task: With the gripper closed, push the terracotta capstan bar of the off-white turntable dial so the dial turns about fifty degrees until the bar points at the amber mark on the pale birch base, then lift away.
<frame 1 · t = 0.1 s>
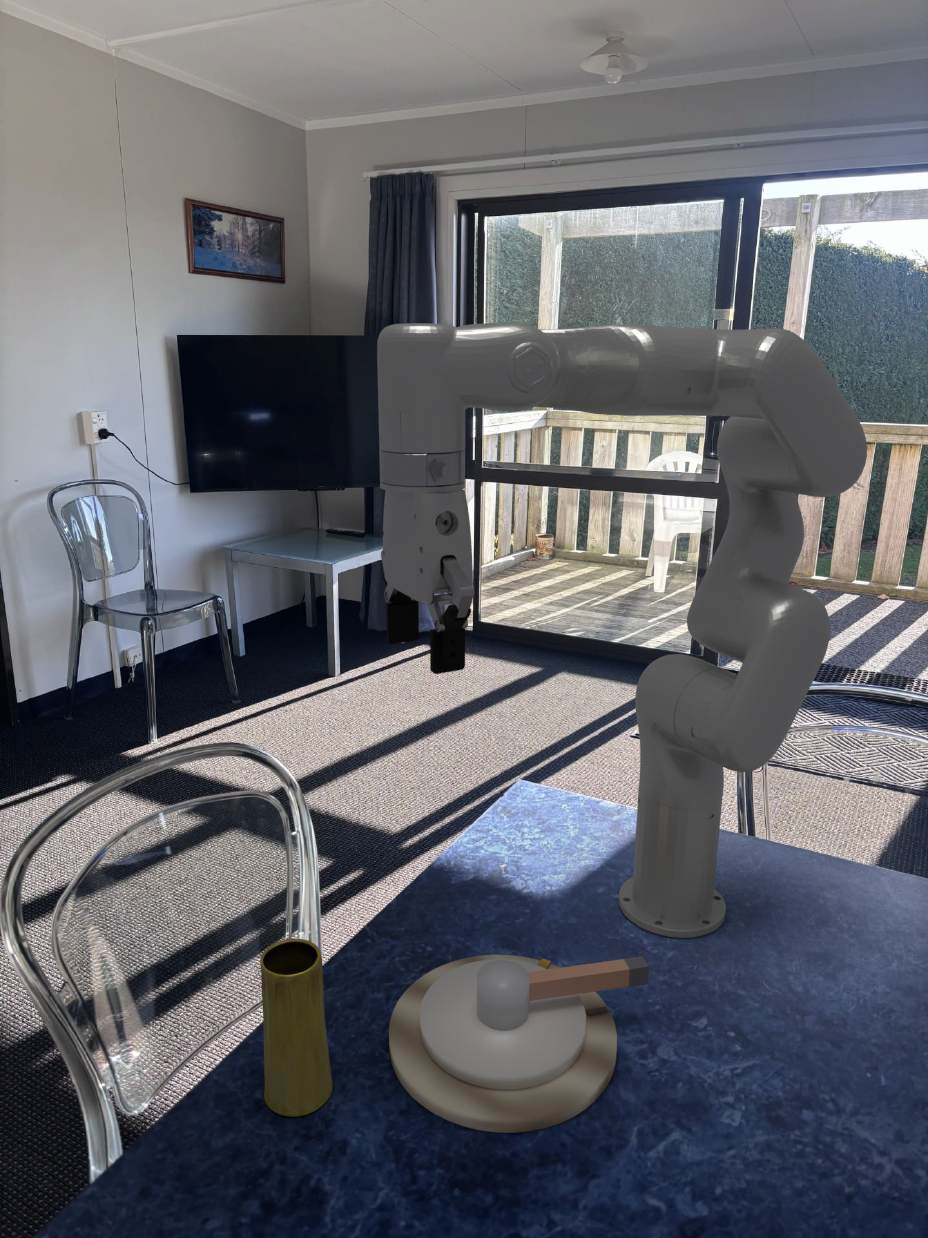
hand: (424, 655, 84), 37 cm above the table, tool pointing down, fingers open, 9 cm apart
dial base: (502, 1039, 88), on the table
vase: (298, 1093, 82), on the table
dial: (535, 996, 87), point 4 cm above the table, hinge at 0.0°
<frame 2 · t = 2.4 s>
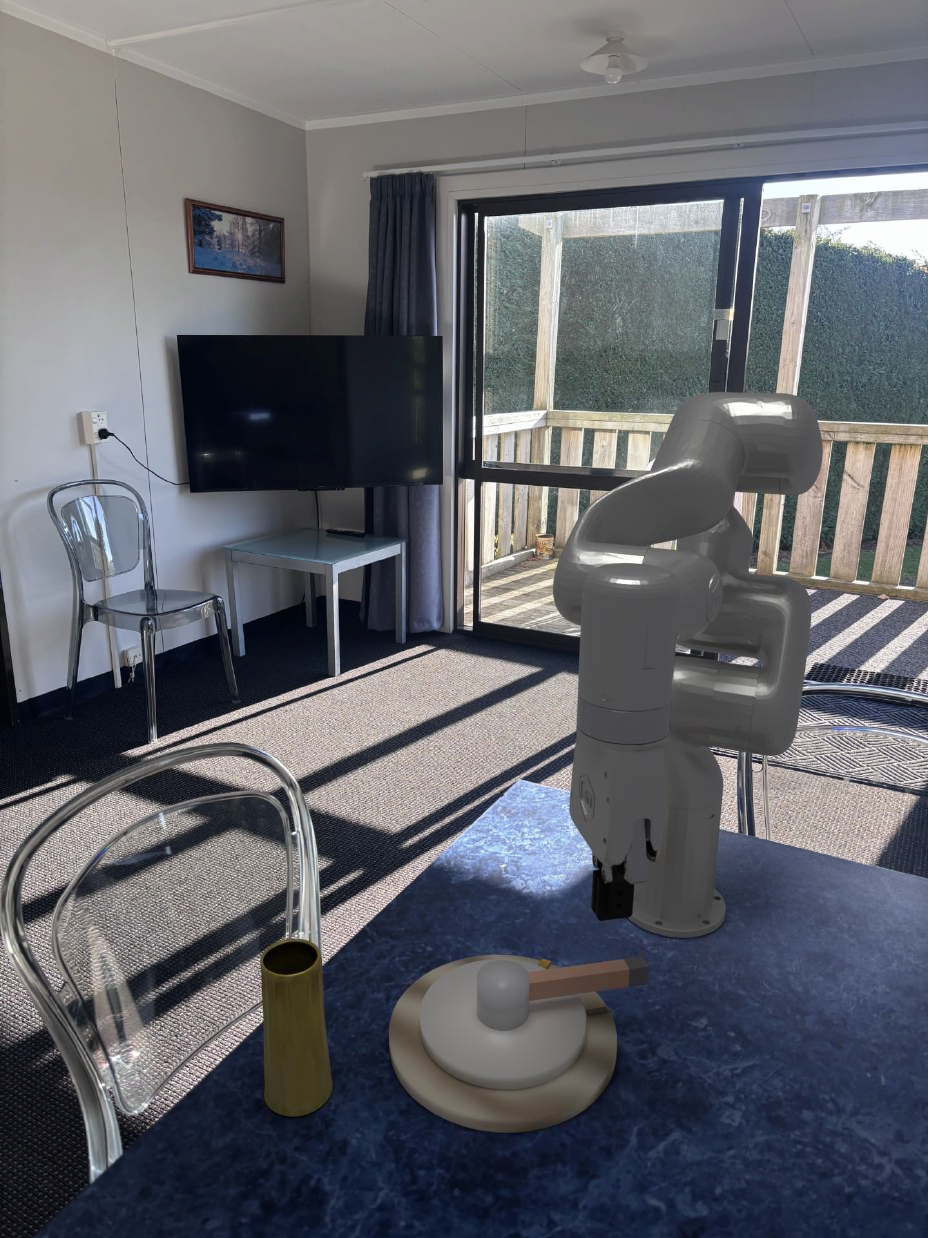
hand: (611, 913, 78), 18 cm above the table, tool pointing down, fingers closed
nothing on the table moved.
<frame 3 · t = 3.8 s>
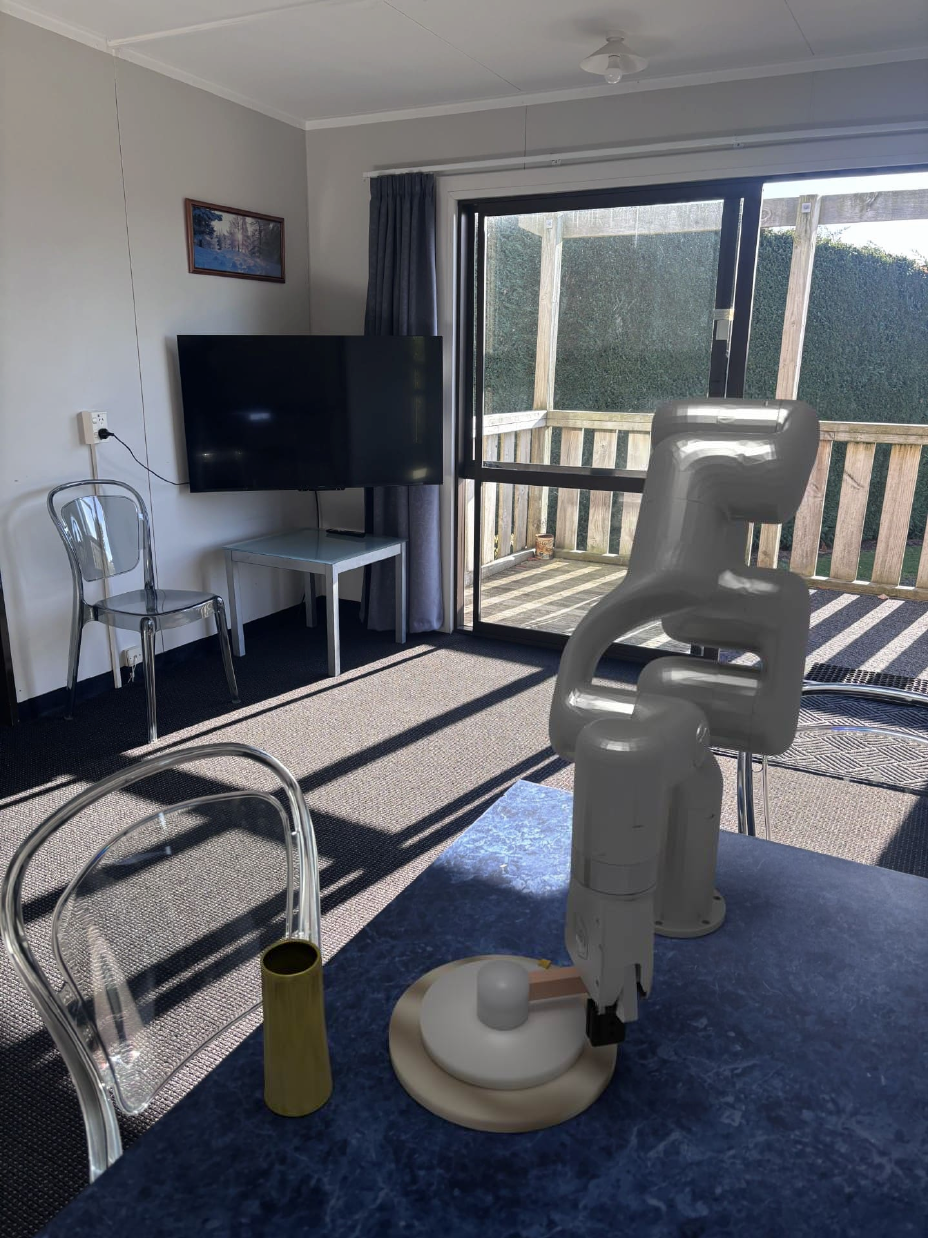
hand: (604, 1038, 82), 4 cm above the table, tool pointing down, fingers closed
nothing on the table moved.
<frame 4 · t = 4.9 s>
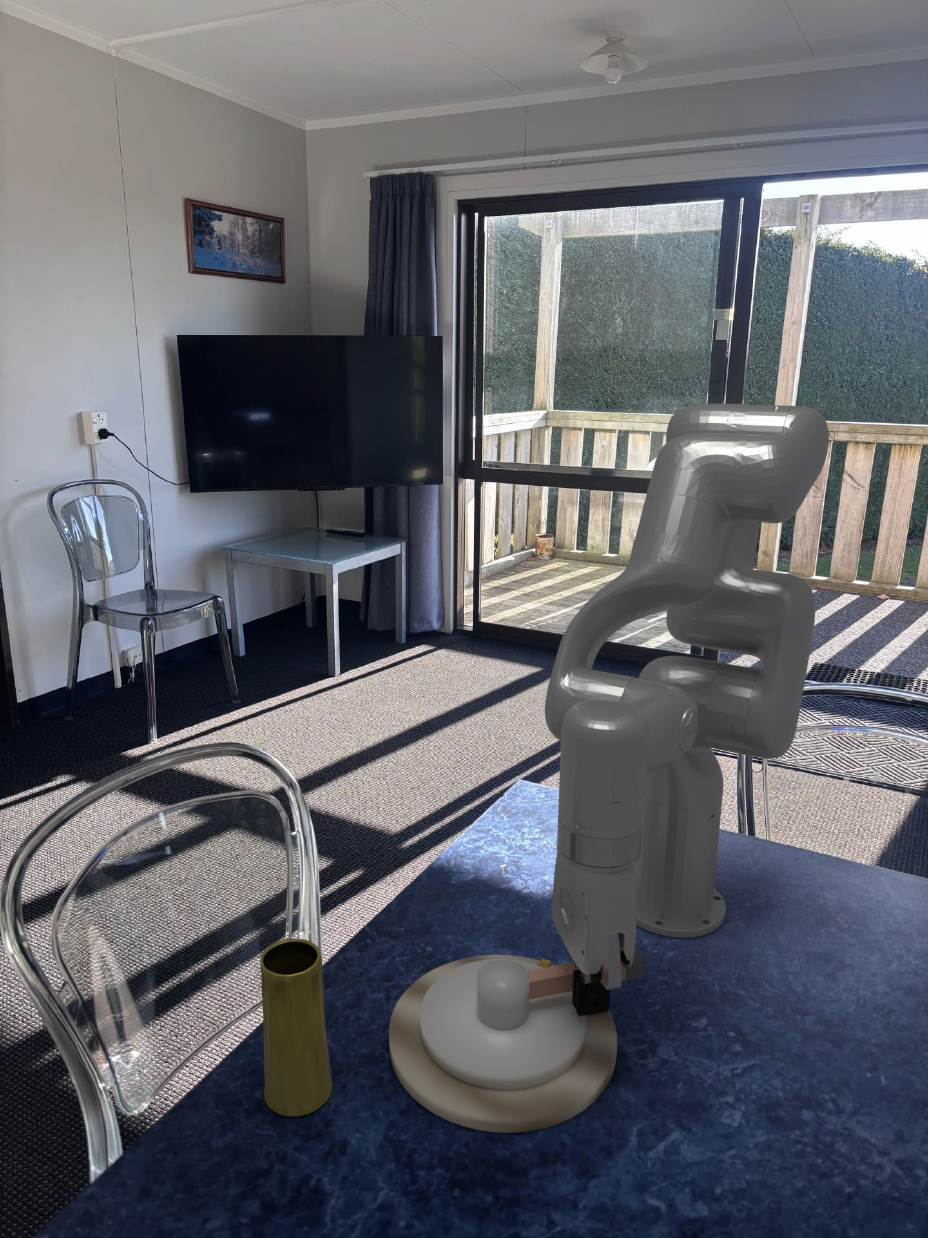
hand: (590, 1008, 86), 4 cm above the table, tool pointing down, fingers closed
dial: (534, 995, 87), point 4 cm above the table, hinge at 4.3°, touching gripper
everything else where it was.
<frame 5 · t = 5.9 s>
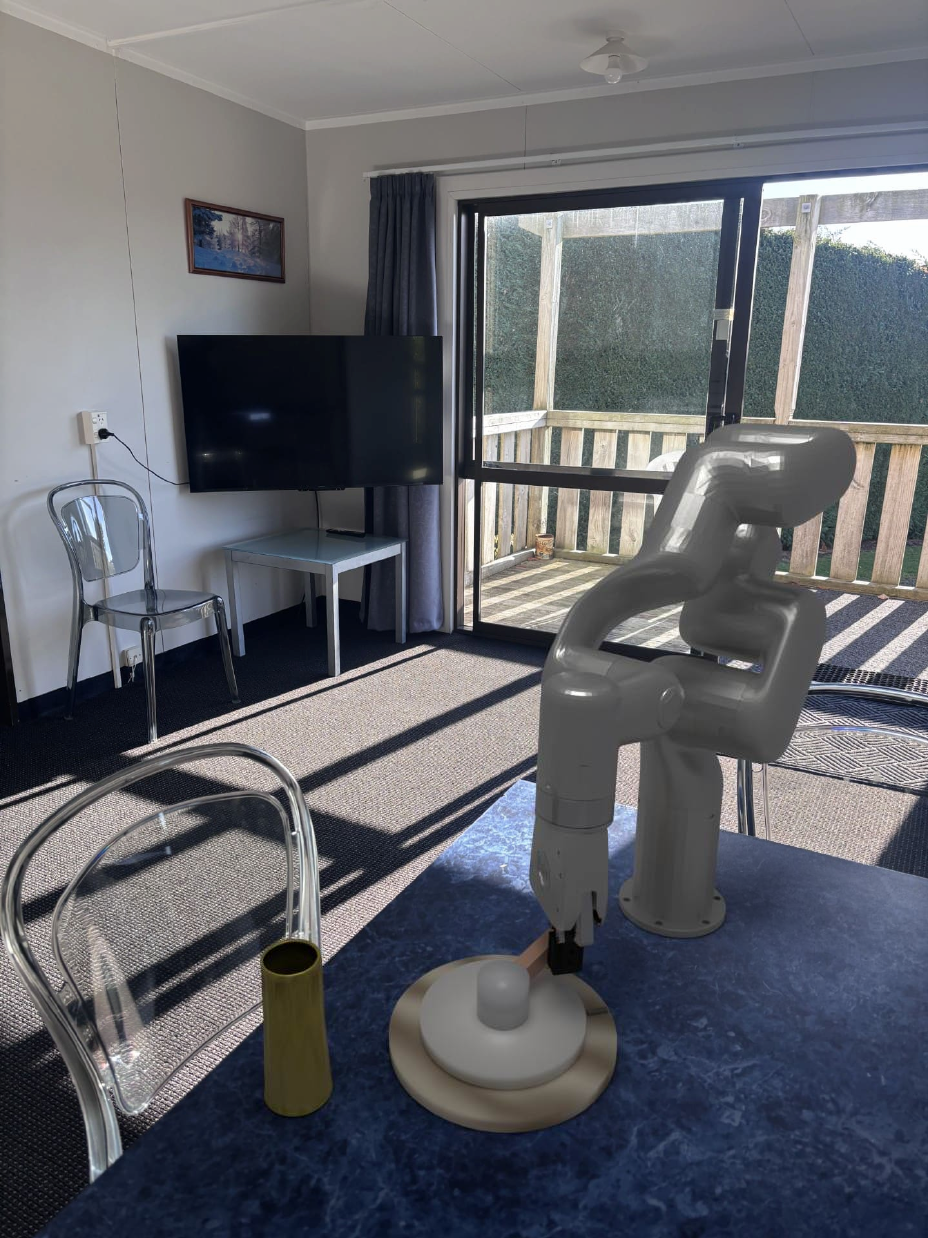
hand: (564, 968, 90), 5 cm above the table, tool pointing down, fingers closed
dial: (521, 983, 89), point 4 cm above the table, hinge at 42.1°, touching gripper
everything else where it was.
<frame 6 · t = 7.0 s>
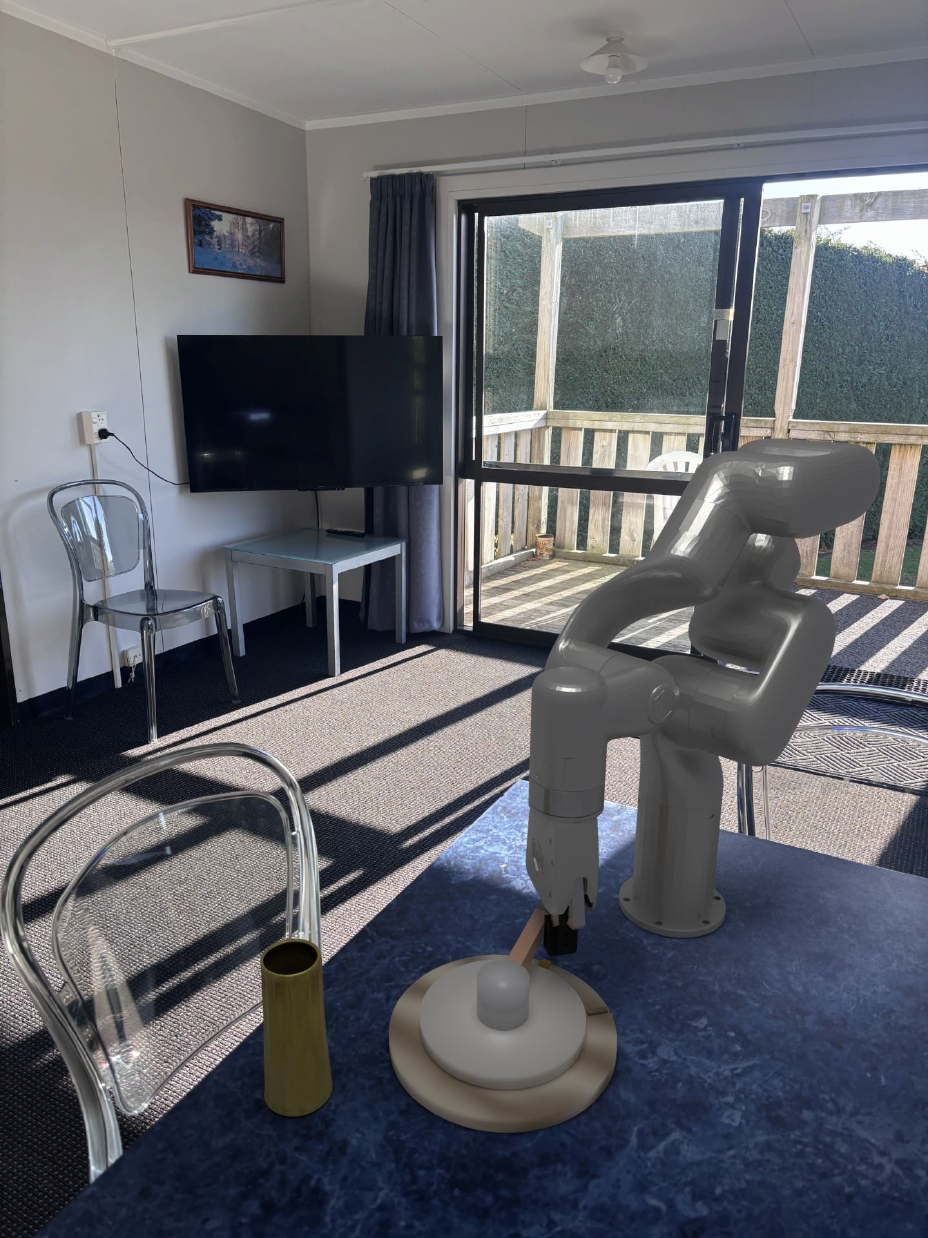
hand: (560, 950, 95), 4 cm above the table, tool pointing down, fingers closed
dial: (514, 980, 90), point 4 cm above the table, hinge at 55.8°, touching gripper
everything else where it was.
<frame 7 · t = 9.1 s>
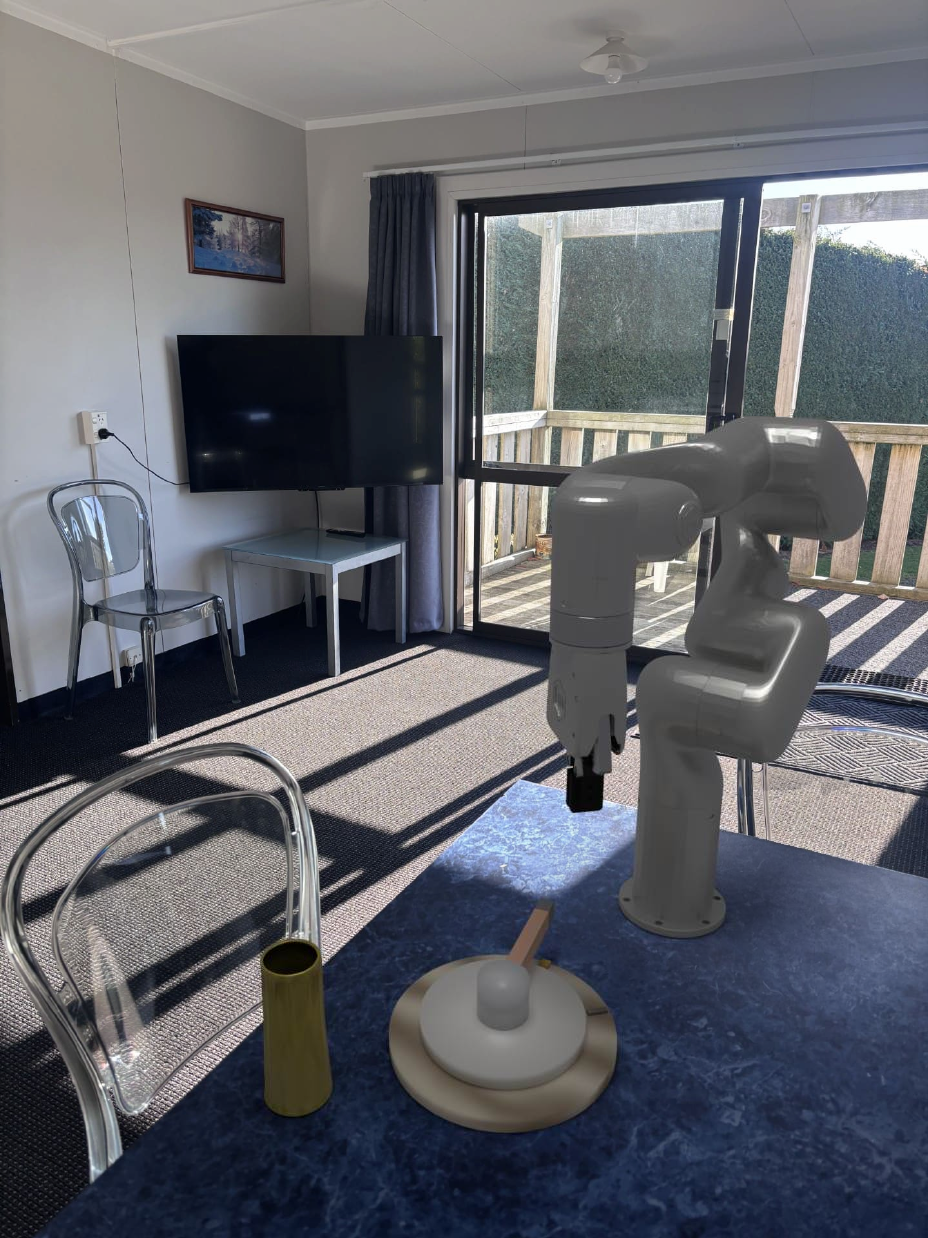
hand: (584, 807, 87), 22 cm above the table, tool pointing down, fingers closed
dial: (513, 980, 90), point 4 cm above the table, hinge at 56.2°
everything else where it was.
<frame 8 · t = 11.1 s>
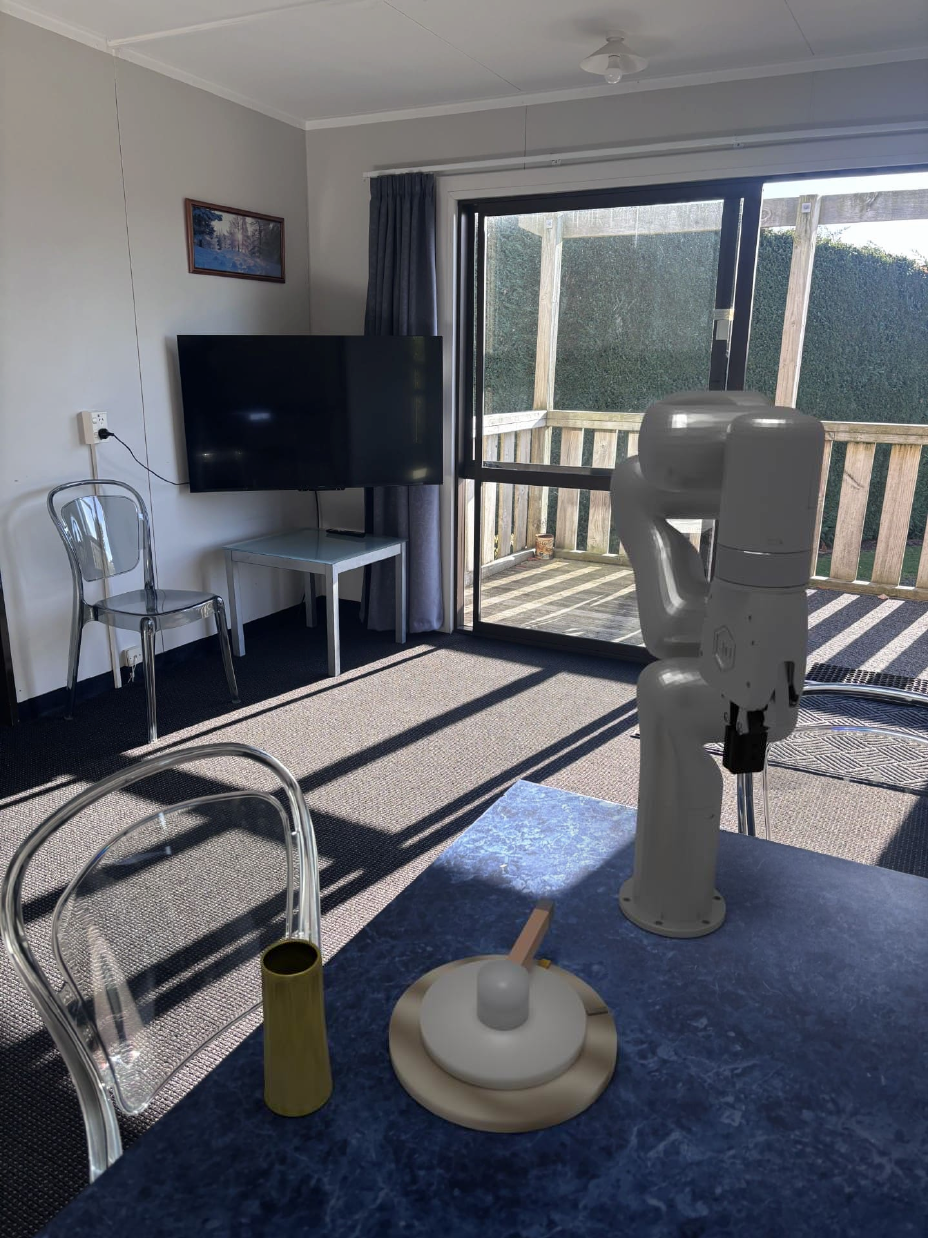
hand: (742, 769, 79), 29 cm above the table, tool pointing down, fingers closed
nothing on the table moved.
at the end: dial at +56° (first picture: +0°); vase moved 0.2 cm from its start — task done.
